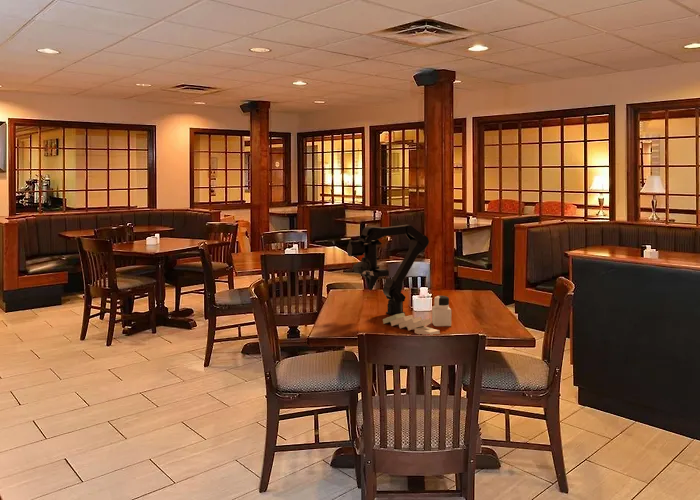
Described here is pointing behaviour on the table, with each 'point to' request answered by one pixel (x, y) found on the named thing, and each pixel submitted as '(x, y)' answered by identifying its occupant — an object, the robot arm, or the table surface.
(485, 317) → the table surface
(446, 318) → the medicine bottle
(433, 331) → the domino
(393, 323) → the domino
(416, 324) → the domino
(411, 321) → the domino
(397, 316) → the sage domino
